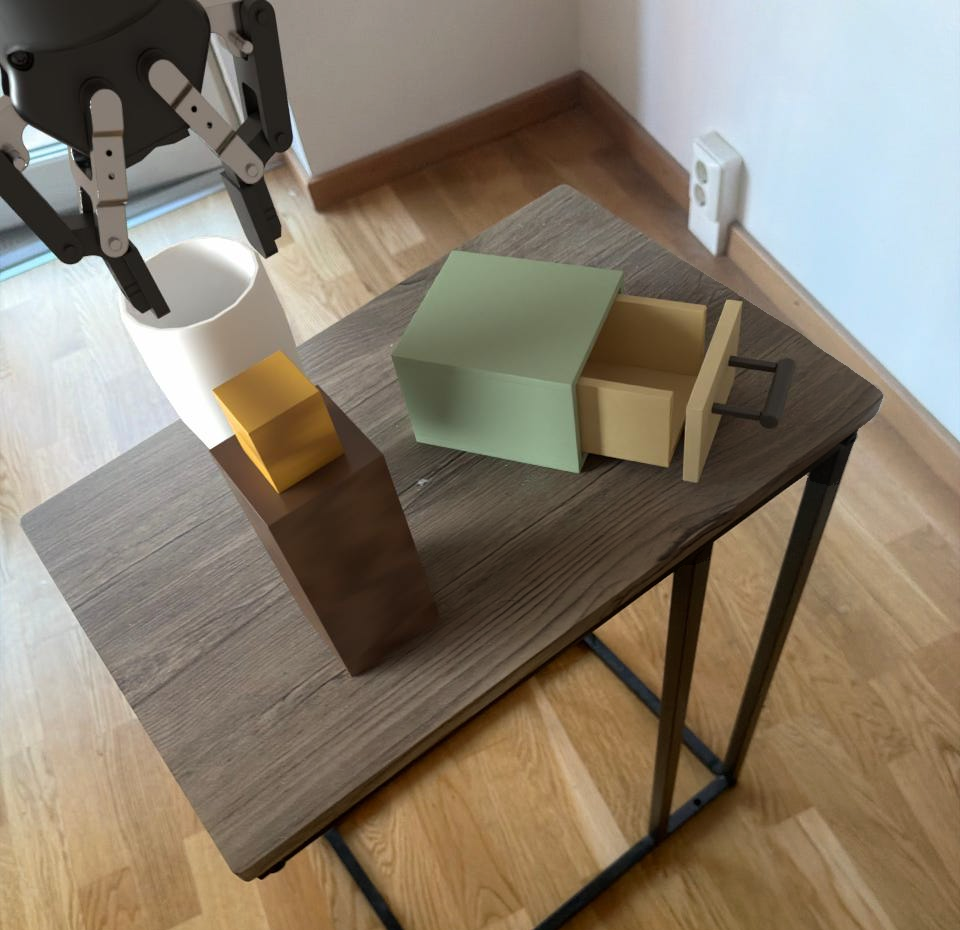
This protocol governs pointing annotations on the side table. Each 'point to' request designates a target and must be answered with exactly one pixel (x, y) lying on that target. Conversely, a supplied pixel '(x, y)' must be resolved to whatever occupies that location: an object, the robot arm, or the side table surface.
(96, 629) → the side table surface
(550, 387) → the cabinet
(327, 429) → the block
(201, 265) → the cup
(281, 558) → the stand
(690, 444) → the drawer
